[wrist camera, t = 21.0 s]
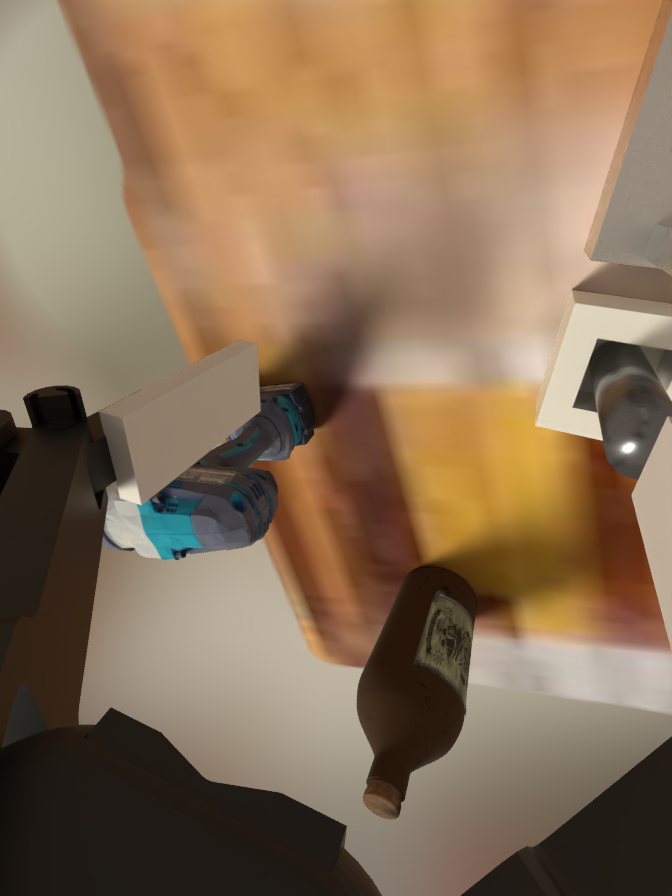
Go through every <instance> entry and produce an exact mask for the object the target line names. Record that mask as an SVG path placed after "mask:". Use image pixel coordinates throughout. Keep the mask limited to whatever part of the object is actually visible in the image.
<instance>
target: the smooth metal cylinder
mask: <svg viewBox="0 0 672 896" xmlns="http://www.w3.org/2000/svg"><path fill="white" fill-rule="evenodd" d="M589 372H590V377H591V382H592V387H593V392H594V397H595V402H596V407H597V412H598V417H599V422H600V428H601V433H602V438H603V443H604V448H605V453H606V457H607V460H608V461H609V463H610V465H611V466H612V467H613V468H614V469H615V470H616V471H618V472H619V473H621V474H622V475H624V476H627V477H630V478H633V479H638V480H639V478H640V475H641V473H642V471H643V469H644V467H645V464H646V462H647V460H648V458H649V456H650V453H651V451H652V449H653V447H654V445H655V443H656V440H657V438H658V436H659V434H660V432H661V429H662V427H663V425H664V423H665V421H666V418H667V416H670V417H672V401H671V399H670V397H669V396H668V394H667V392H666V390H665V389H664V387H663V385H662V384H661V382H660V380H659V378H658V377H657V375H656V373H655V371H654V370H653V368H652V366H651V365H650V363H649V361H648V359H647V358H646V356H645V354H644V352H643V351H642V349H641V348H640V347H639V346H638V345H635V344H629V343H623V342H617V341H609V342H606V343H604V344H603V345H601V346H600V347H598V348H597V349H596V350H595V351H594V353H593V354H592V356H591V358H590V361H589Z"/></svg>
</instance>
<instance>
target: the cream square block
mask: <svg viewBox="0 0 672 896" xmlns="http://www.w3.org/2000/svg"><path fill="white" fill-rule="evenodd" d="M609 341H617V342H623V343H629V344H635V345H638V346H639V347H640V348H641V349H642V351H643V352H644V354H645V356H646V358H647V359H648V361H649V363H650V365H651V366H652V368H653V370H654V371H655V373H656V375H657V377H658V378H659V380H660V382H661V384H662V385H663V387H664V389H665V390H666V392H667V394H668V396H669V397H670V399H671V401H672V303H665V302H657V301H650V300H643V299H635V298H628V297H621V296H613V295H606V294H599V293H591V292H584V291H577V290H571V293H570V296H569V299H568V302H567V306H566V309H565V312H564V315H563V318H562V321H561V325H560V328H559V331H558V334H557V337H556V340H555V344H554V347H553V350H552V353H551V356H550V359H549V363H548V366H547V369H546V372H545V375H544V378H543V381H542V385H541V388H540V391H539V394H538V397H537V402H536V422H535V426H539V427H544V428H548V429H553V430H557V431H562V432H566V433H571V434H575V435H580V436H584V437H589V438H593V439H598V440H603V438H602V433H601V428H600V422H599V417H598V412H597V407H596V402H595V397H594V392H593V387H592V382H591V377H590V372H589V361H590V358H591V356H592V354H593V353H594V351H595V350H596V349H597V348H598V347H600V346H601V345H603V344H604V343H606V342H609Z"/></svg>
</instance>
